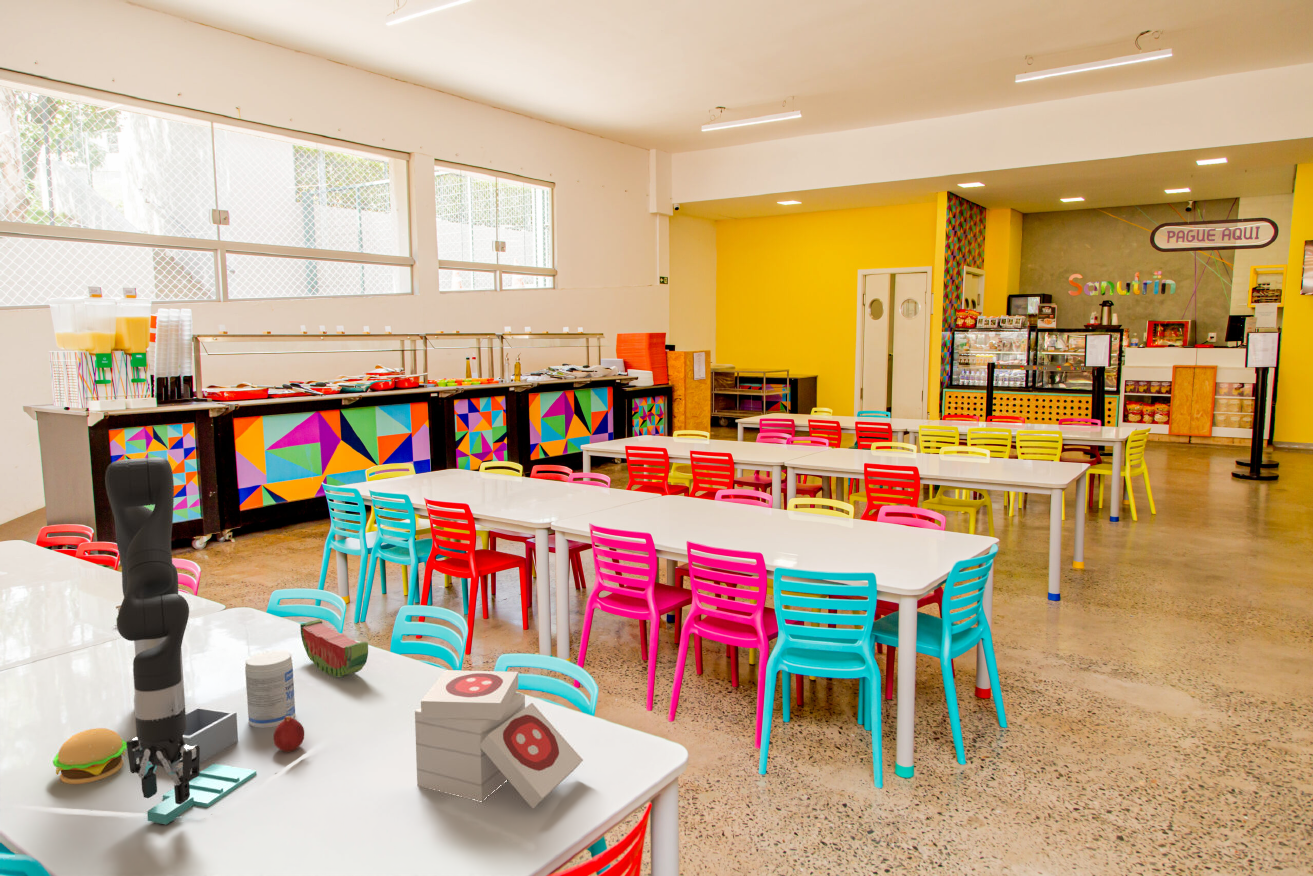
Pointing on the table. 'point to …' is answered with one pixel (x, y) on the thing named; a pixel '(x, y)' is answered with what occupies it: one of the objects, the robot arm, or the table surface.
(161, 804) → the lid
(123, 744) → the hamburger
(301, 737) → the red round fruit
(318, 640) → the fruit slice
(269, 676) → the supplement tub
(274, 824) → the table surface
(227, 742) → the tub
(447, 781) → the pizza boxes
